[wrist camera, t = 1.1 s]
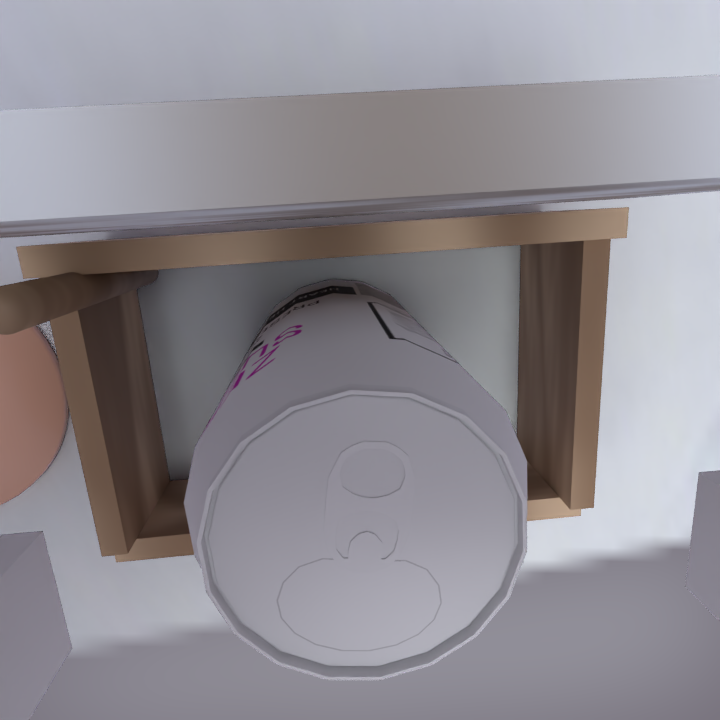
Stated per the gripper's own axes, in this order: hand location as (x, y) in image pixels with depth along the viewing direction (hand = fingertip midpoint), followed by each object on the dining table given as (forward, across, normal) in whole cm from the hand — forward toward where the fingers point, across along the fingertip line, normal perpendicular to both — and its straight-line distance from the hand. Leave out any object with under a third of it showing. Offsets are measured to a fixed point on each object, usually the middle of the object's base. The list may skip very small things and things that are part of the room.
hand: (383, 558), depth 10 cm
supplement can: (+16, 0, 0) cm, 16 cm away
